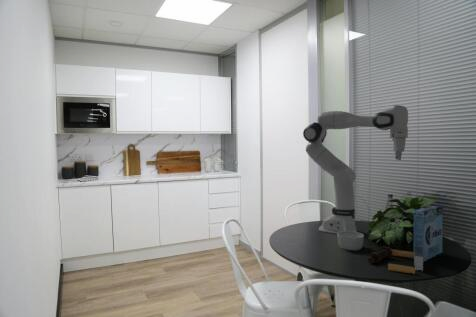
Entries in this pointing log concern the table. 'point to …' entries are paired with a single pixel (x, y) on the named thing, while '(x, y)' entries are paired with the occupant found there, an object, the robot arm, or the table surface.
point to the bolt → (380, 255)
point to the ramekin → (350, 240)
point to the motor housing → (417, 257)
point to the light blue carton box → (428, 231)
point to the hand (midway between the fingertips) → (398, 159)
